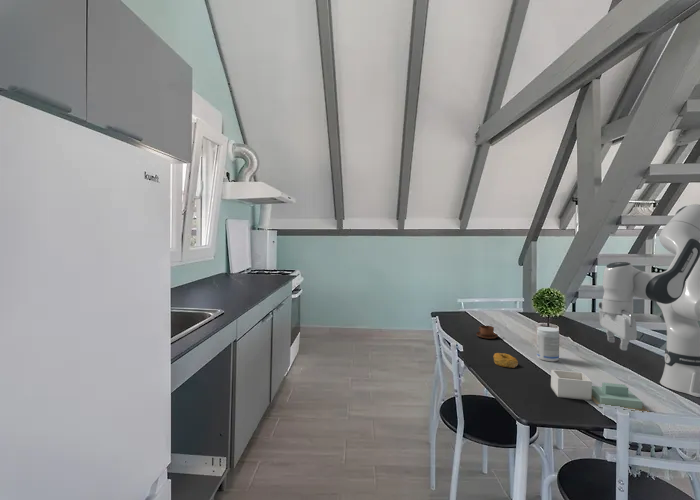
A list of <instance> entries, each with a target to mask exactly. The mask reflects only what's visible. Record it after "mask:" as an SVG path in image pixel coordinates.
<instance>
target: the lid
mask: <svg viewBox="0 0 700 500" xmlns="http://www.w3.org/2000/svg"><path fill="white" fill-rule="evenodd" d="M601 383H602V385H601V386H595V385H592V395H593V396H594V397H595V398H596V400H597V401H598V402H599V403H600V404H605V405H611V406H620V407H629V408H638V409H642V406H643V401H642V400H641V399H640V398H639V397H638V396H636V395H635V394H634V393H633V392H631V391H630V390H629V386H626V384H624V383H622V384H620V383H612V382H601Z"/></svg>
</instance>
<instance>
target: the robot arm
mask: <svg viewBox="0 0 700 500" xmlns="http://www.w3.org/2000/svg"><path fill="white" fill-rule="evenodd" d="M658 238H659V242H660V244H661V246H662V247H663V248H664V249H666V250H667V252H670V253H672V254H673V255H675V256H674V258H673V259H672V261H671V263H670V265H669V266H668V268H667V269H666V270H664V271H662V272H650V271H643V270H640V269H638V268H636V267H634V266H633V265H632V264H631V263H630V262H628V261H619V262H617V261H615V262H612V263H611V262H610V263H608V264H606V265H605V267H604V270H603V275H602V288H603V296H602V300H601V301H599V302H598V303H597V304H598V305H597V307H598V309H599V312H598V313H599V324H600V326H601V327H602V328H603V329H605V332H606V336H607V342H609V343H613V344H614V343H615V342H616V340H615V339H616V338H615V336H617V337H619V338H620V343H619V345H618V346H619V349H620V350H621V351H628V345H629V344H630V342H631V341H636V340H637V338H638V329H637V321H636V318H635V317H633V316H632V315H633V314H634V298H639V299H643V300H648V301H653V302H655V303H656V304H657V306H658V307H659V308H660V310H661V312H662V316H663V320H664V323H665V327H666V348H665V349H664V363H665V364H664V368H663V373H662V376H661V378H660V380H659V383H660V384H661V385H662V386H664V387H666V388H667V389H671V390H673V391H676V392H680V393H684V394H687V395H691V396H693V397H697V398H700V325H699V322H700V204H697V203H695V204H689V205H685V206H682V207H681V208H680V209H678V210H677V211H676V212H675V214H674V216H673V217H672V218H671V219H670V220H669V221H668V222H667V223H666V225H664V226H663V228H662V229H661V231H660V233H659V237H658ZM614 335H615V336H614Z"/></svg>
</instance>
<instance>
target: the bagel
mask: <svg viewBox="0 0 700 500" xmlns="http://www.w3.org/2000/svg"><path fill="white" fill-rule="evenodd" d="M493 362H494V364H495V366H499V367H503V368H509V369H510V368H511V369H515V368H516V367H517V366H518V364H519V361H518V360H517V358H516V357H514V356H512V355H511V354H509V353H508V354H507V353H505V352H504V353H501V352H496V353H495V352H494V354H493Z"/></svg>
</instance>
